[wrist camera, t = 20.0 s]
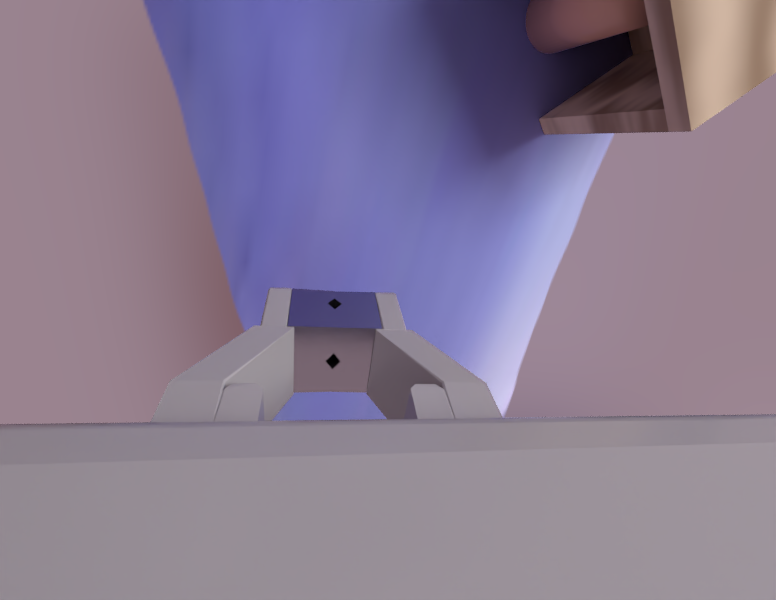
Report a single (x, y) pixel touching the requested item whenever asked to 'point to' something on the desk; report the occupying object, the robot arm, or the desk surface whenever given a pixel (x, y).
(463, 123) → the desk surface
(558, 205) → the desk surface
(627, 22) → the peach rounded capsule
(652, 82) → the wooden shelf
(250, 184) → the desk surface
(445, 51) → the desk surface
